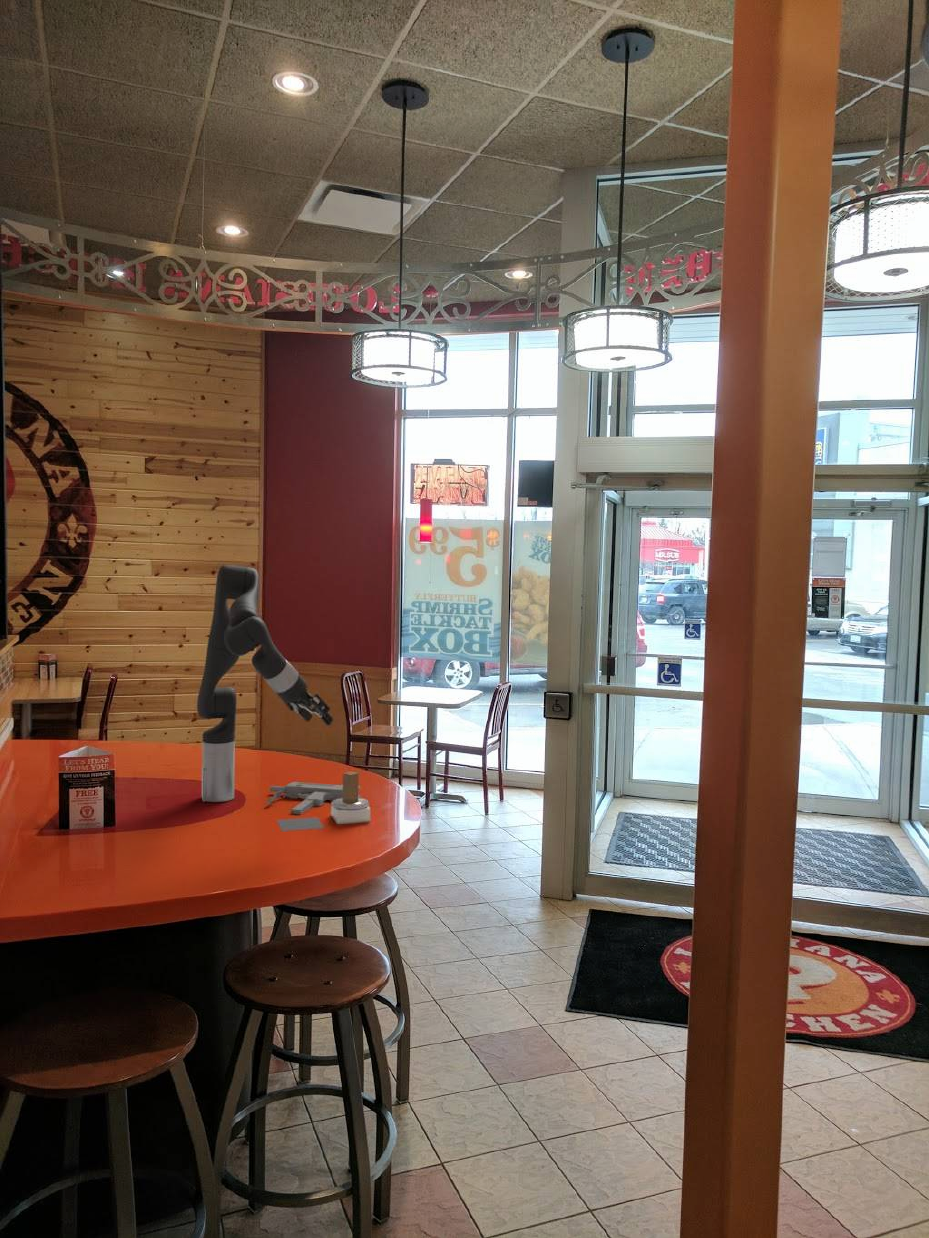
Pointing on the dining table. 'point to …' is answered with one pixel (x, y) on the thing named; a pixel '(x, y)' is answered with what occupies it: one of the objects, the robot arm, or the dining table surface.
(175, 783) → the dining table surface
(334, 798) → the submachine gun
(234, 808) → the dining table surface
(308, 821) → the mat
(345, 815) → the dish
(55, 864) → the dining table surface
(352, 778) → the lid
